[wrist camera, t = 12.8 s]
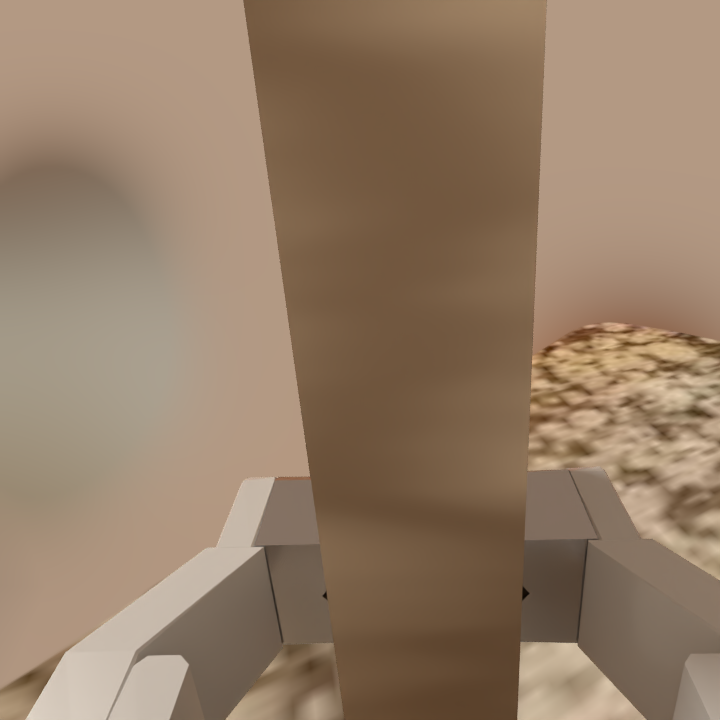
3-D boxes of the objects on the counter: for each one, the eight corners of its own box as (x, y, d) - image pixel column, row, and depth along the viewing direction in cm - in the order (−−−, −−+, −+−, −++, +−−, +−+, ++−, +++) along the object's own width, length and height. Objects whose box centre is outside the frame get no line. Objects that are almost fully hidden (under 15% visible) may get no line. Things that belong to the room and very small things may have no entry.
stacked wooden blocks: (480, 759, 15) (481, -112, 8) (524, 1134, 10) (668, -553, 2) (385, 758, 15) (300, -90, 8) (377, 1124, 10) (88, -454, 3)
